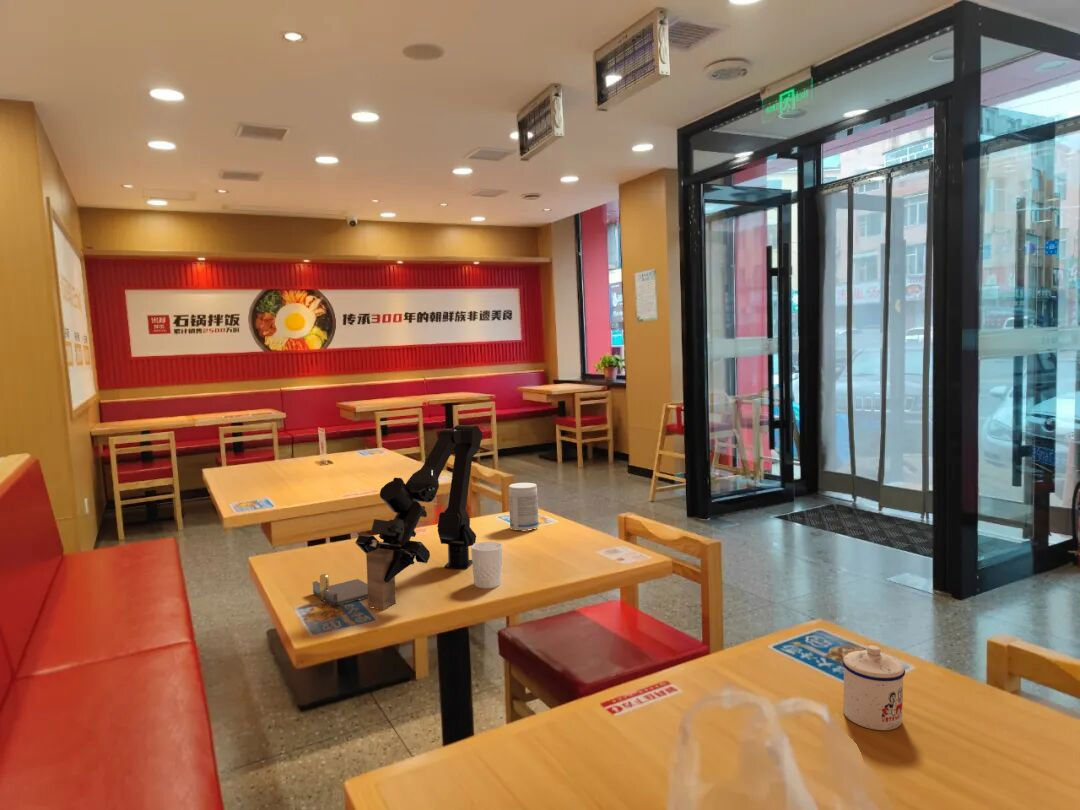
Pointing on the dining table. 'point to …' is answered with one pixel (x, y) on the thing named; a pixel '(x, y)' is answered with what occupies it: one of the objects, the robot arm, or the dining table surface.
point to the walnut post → (380, 579)
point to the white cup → (487, 564)
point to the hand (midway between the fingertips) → (377, 580)
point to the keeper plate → (340, 590)
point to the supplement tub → (523, 506)
